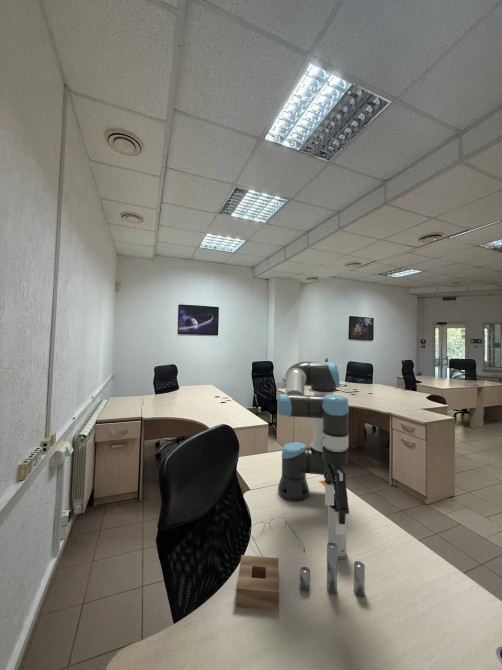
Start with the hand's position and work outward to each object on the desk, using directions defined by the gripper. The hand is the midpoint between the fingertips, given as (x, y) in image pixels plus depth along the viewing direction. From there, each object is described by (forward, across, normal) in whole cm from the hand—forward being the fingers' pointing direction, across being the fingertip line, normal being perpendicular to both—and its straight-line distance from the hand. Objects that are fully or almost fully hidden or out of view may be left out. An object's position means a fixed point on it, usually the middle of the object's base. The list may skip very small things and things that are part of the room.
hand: (334, 518), depth 83 cm
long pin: (+21, 0, -1) cm, 21 cm away
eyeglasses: (+22, -18, -17) cm, 33 cm away
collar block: (+21, +1, -23) cm, 31 cm away
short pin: (+21, 0, -9) cm, 23 cm away
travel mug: (+21, -15, +5) cm, 27 cm away
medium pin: (+21, 0, +7) cm, 23 cm away
